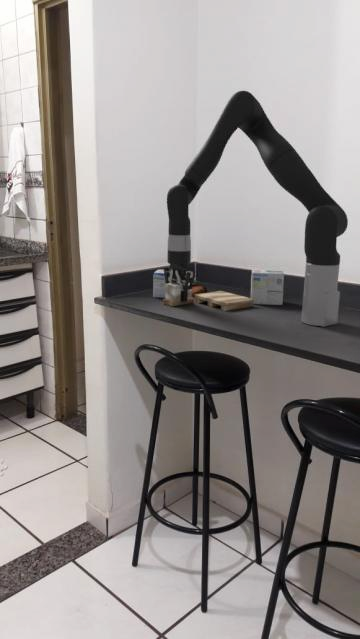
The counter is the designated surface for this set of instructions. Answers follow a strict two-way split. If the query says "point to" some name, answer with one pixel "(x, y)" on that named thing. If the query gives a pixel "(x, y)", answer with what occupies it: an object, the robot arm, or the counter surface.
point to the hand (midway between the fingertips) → (178, 300)
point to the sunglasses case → (198, 289)
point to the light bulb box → (267, 287)
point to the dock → (224, 300)
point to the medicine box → (159, 284)
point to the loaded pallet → (176, 295)
